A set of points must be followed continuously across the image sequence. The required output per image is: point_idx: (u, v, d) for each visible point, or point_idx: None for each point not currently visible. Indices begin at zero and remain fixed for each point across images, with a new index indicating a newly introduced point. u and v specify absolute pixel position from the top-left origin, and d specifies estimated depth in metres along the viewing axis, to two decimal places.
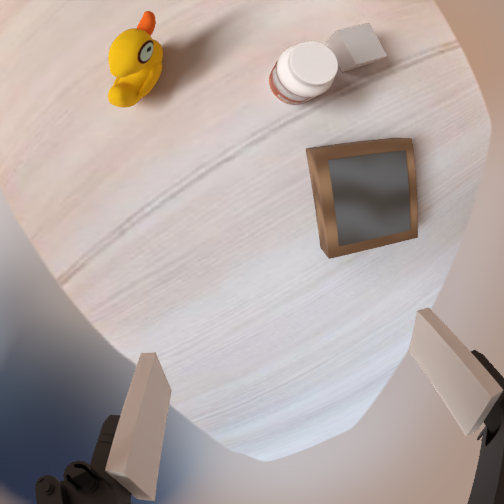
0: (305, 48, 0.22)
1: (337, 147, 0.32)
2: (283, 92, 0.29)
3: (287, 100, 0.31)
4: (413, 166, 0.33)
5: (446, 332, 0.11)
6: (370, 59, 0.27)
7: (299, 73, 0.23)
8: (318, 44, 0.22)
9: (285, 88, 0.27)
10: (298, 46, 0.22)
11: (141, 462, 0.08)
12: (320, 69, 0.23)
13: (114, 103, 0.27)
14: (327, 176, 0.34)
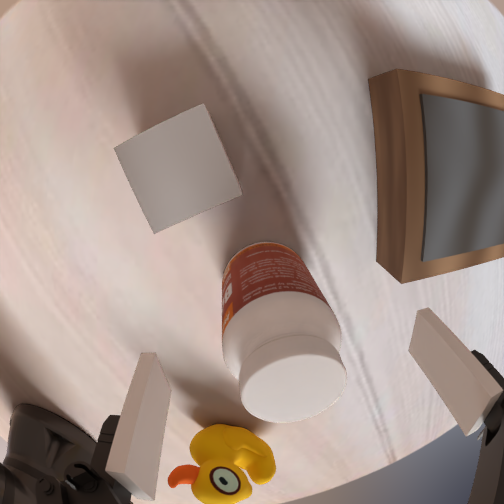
0: (261, 407, 0.11)
1: (406, 242, 0.17)
2: None
3: None
4: (442, 80, 0.13)
5: (446, 332, 0.11)
6: (222, 153, 0.14)
7: (318, 411, 0.12)
8: (249, 388, 0.11)
9: None
10: (256, 415, 0.12)
11: (141, 462, 0.08)
12: (313, 384, 0.11)
13: None
14: (439, 260, 0.18)
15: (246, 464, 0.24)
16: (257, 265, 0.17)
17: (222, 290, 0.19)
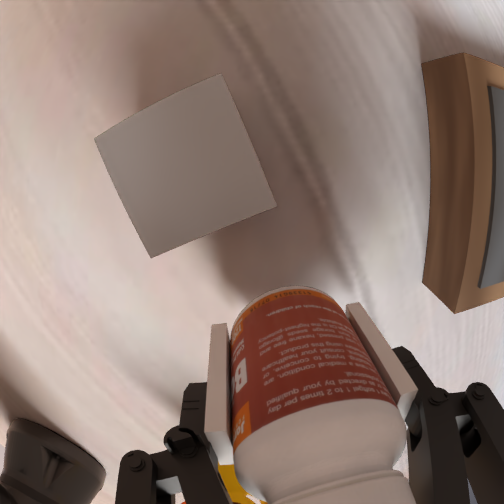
0: None
1: (466, 266, 0.12)
2: None
3: None
4: None
5: (369, 326, 0.12)
6: (248, 145, 0.09)
7: None
8: None
9: None
10: None
11: (231, 423, 0.10)
12: None
13: None
14: (495, 285, 0.13)
15: None
16: (286, 337, 0.10)
17: (231, 358, 0.13)
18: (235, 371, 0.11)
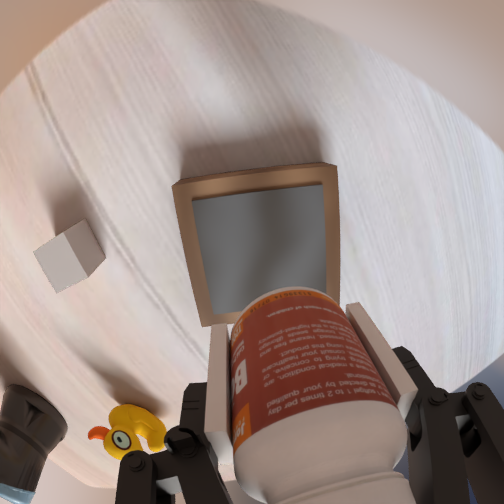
0: None
1: (197, 301, 0.27)
2: None
3: None
4: (216, 181, 0.24)
5: (369, 326, 0.12)
6: (75, 257, 0.24)
7: None
8: None
9: None
10: None
11: (231, 423, 0.10)
12: None
13: (163, 447, 0.35)
14: (233, 313, 0.28)
15: (145, 435, 0.35)
16: (286, 338, 0.10)
17: (231, 359, 0.13)
18: (235, 372, 0.11)
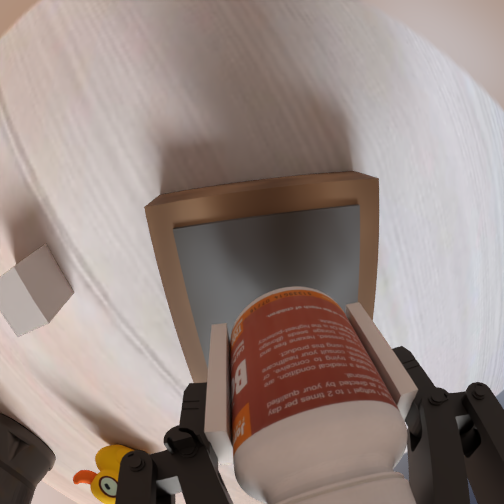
0: None
1: (186, 356, 0.20)
2: None
3: None
4: (208, 200, 0.16)
5: (369, 326, 0.12)
6: (31, 298, 0.17)
7: None
8: None
9: None
10: None
11: (231, 423, 0.10)
12: None
13: None
14: None
15: None
16: (286, 338, 0.10)
17: (231, 359, 0.13)
18: (235, 372, 0.11)
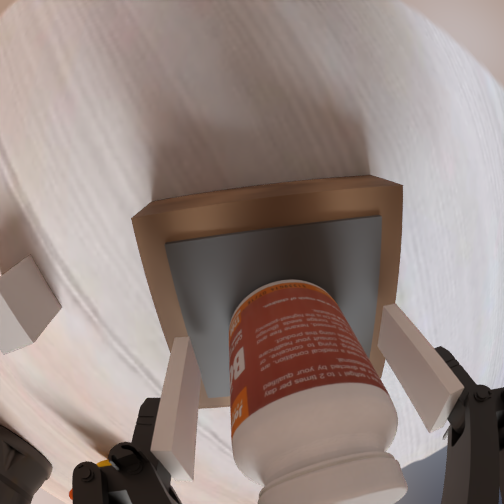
0: None
1: None
2: None
3: None
4: (206, 210, 0.14)
5: (410, 327, 0.12)
6: (13, 316, 0.14)
7: None
8: None
9: None
10: None
11: (183, 441, 0.09)
12: None
13: None
14: None
15: None
16: (282, 326, 0.11)
17: (229, 348, 0.13)
18: (233, 360, 0.12)
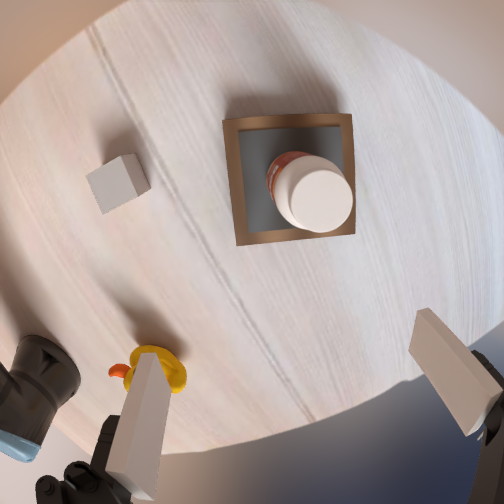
0: (302, 211, 0.20)
1: (234, 220, 0.32)
2: None
3: None
4: (258, 118, 0.28)
5: (446, 332, 0.11)
6: (128, 178, 0.29)
7: (337, 224, 0.21)
8: (296, 192, 0.20)
9: None
10: (299, 220, 0.21)
11: (141, 462, 0.08)
12: (333, 195, 0.20)
13: (182, 389, 0.40)
14: (266, 233, 0.33)
15: None
16: (294, 154, 0.26)
17: (268, 176, 0.28)
18: (272, 172, 0.26)
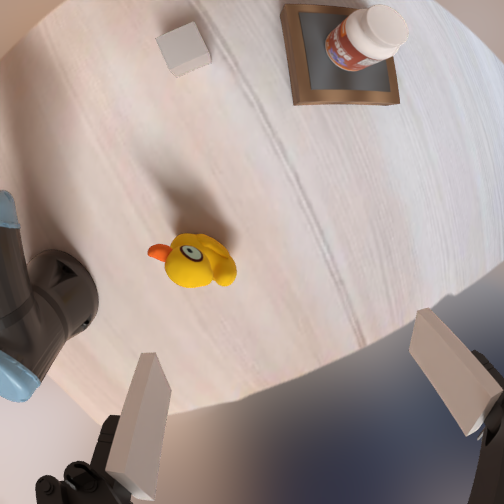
0: (376, 26, 0.18)
1: (298, 78, 0.30)
2: None
3: None
4: (314, 6, 0.26)
5: (446, 332, 0.11)
6: (200, 38, 0.27)
7: (401, 41, 0.19)
8: (369, 13, 0.18)
9: None
10: (374, 31, 0.19)
11: (141, 462, 0.08)
12: (394, 22, 0.18)
13: (233, 280, 0.37)
14: (326, 91, 0.31)
15: (212, 267, 0.38)
16: None
17: (329, 37, 0.26)
18: (335, 29, 0.24)
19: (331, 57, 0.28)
